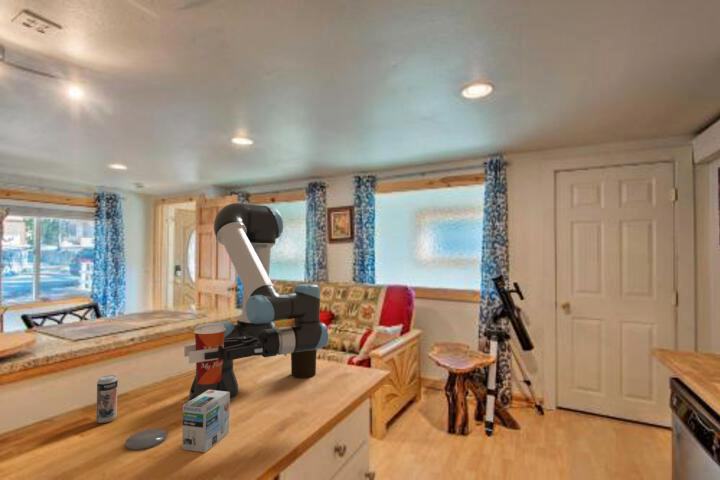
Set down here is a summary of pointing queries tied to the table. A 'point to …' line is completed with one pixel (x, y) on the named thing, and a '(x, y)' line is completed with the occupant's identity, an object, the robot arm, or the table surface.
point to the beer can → (106, 399)
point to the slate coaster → (146, 439)
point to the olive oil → (303, 364)
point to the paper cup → (209, 339)
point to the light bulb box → (205, 420)
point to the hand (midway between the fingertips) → (186, 354)
